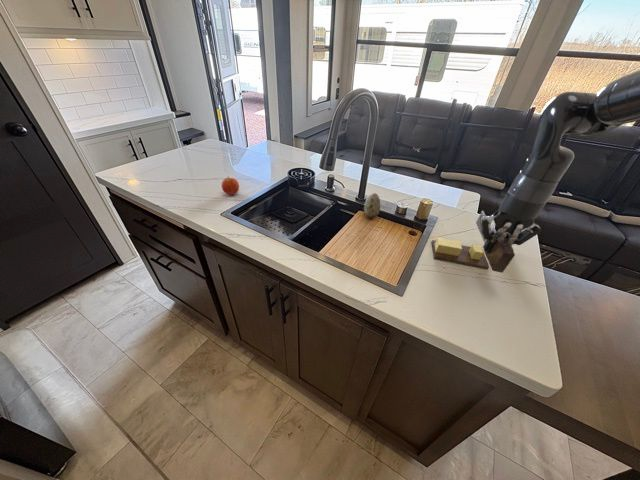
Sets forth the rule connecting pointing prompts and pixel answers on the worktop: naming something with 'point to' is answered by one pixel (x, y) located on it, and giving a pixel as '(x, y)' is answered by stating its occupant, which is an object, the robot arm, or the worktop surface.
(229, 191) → the fruit
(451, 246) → the butter stick
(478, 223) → the knife
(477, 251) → the butter pat
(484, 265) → the butter board
